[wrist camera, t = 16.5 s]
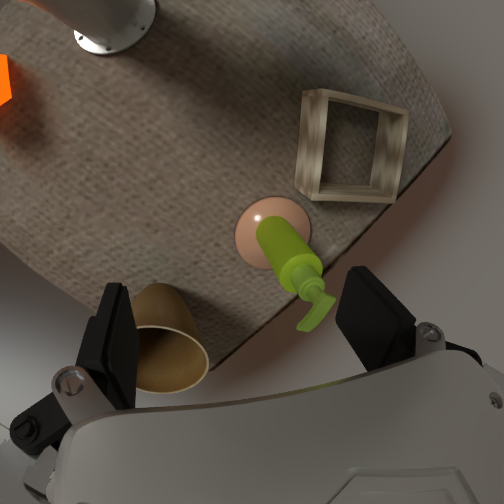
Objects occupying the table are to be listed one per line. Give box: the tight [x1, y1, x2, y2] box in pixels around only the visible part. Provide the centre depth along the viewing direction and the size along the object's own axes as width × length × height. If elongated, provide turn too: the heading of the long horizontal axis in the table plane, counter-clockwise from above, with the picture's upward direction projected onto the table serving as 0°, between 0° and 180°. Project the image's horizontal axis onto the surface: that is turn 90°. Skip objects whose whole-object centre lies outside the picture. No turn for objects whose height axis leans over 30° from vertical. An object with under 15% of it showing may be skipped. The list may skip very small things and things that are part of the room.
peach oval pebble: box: [234, 196, 310, 269], centre depth 48 cm, size 13×13×1 cm
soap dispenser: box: [256, 216, 336, 332], centre depth 38 cm, size 6×7×20 cm
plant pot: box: [131, 283, 209, 394], centre depth 42 cm, size 15×15×16 cm
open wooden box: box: [294, 88, 409, 204], centre depth 40 cm, size 16×16×7 cm
